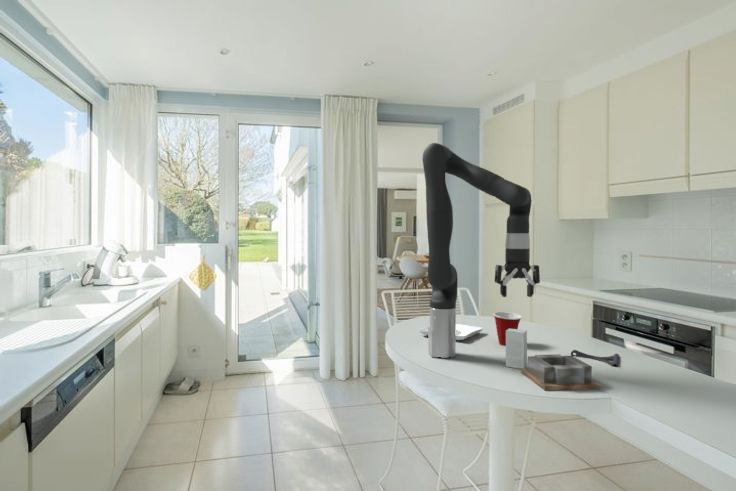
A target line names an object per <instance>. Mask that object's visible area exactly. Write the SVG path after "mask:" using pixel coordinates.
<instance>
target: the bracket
mask: <svg viewBox="0 0 736 491" xmlns="http://www.w3.org/2000/svg"><path fill="white" fill-rule="evenodd" d="M570 356H573V357H575V358H584V359H590V360H591V359H592V360H596V361H599V362H600V361H601V362H603V363H605V364H608V365H609V366H610V367H613V366H614V367H615V365H616V368H619V362H620V355H619V353H614V354H613V355H610V356H596V355H592V354H588V353H585V352H582V351H579V350H576V349H573V350H572V351H571V352H570Z"/></svg>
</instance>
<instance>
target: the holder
mask: <svg viewBox="0 0 736 491" xmlns="http://www.w3.org/2000/svg"><path fill="white" fill-rule="evenodd" d="M592 370H593V369H592V365H590V364H588V363H586V362H585V361H582V360H581V359H579V358H578V357H575V356H571V355H562V354H558V353H557V354H534V356H533V355H531V356H529V355H527V366H526V368H521V369H520V373H521V374H522V375H523V376H525V377H527V378H528V379H529V380H530V381H531V382H533V383H534V384H535V385H537V386H538V387H540V388H541V389H542V390H543V391H572V390H573V391H574V390H575V391H577V390H601V384H600V383H598V382H596V381H594V380H592V378H593V376H592V375H593V374H592Z"/></svg>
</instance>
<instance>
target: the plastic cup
mask: <svg viewBox="0 0 736 491" xmlns="http://www.w3.org/2000/svg"><path fill="white" fill-rule="evenodd" d="M492 314H493V317H494V320H495V321H494V323H495V327H496V333H497V334H496V335H497V340H498V343H499V345H500V346H505V347H506V330H508V329H519V325H520V322H521V319H522V318H523V317H522V315H520V314H518V313H514V312H508V311H495V312H493V313H492Z"/></svg>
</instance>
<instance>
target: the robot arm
mask: <svg viewBox="0 0 736 491" xmlns="http://www.w3.org/2000/svg"><path fill="white" fill-rule="evenodd" d="M422 165H423V171H424V172H423V173H424V179H425V182H424V183H425V204H426V206H425V207H426V226H427V227H426V229H427V242H428V244H427V246H428V263H427V280H428V281H427V282H429V285H430V286H431V287H432V288H431V289H432V290H431V296H430V298H429V326H430V327H428V337H427V338H428V339H427V340H428V342H427V344H428V346H427V347H428V349H427V351H428V352H429V353H428V354H429V356H430V355H431V356H430V357H431V358H438V357H441V358H440V359H450V358H449V357H451V358H454V357H456V350H457V349H456V347H457V346H456V343H457V341H456V324H457V323H456V322H457V321H456V314H457V311H456V310H457V307H456V306H457V300H458V271H457V268H456V267H455V266H454V265H453V264H451V259H450V258H451V256H450V255H451V254H450V245H451V241H452V234H453V228H454V211H453V203H452V200H451V197H450V193H449V191H448V188H447V182H446V174H449V175H452V176H455V177H457V178H459V179H461V180H463V181H464V182H466V183H467V184H469V185H470V186H472V187H474V188H475V189H477V190H479V191H481V192H483V193H485V194H487V195H489V196H492V197H494V198H496V199H498V200H499V201H501V202H503V203H504V204H506V205H508V206H509V211H508V212H509V215H508V216H507V219H506V234H505V244H504V245H505V246H504V247H505V258H504V259H505V260H504V261H505V264H504V265H500V264H496V265H495V268H494V269H495V272H494V283H495V284H498V285H499V286H500V290H499V291H500V292H499V293H500V295H501V297H503V298H507V287H508V286H507V285H508V282H510V281H511V280H512V279H523V280H525V282H526V283H527V285H526V296H527V297H529V298H532V297H533V295H534V286H535V285H538V284H540V282H541V281H540V279H541V277H540V276H541V275H540V266H539V265H537V264H533V265H530V258H531V257H530V256H531V253H530V252H531V249H530V248H531V239H530V215H531V214H530V213H531V206H532V194H531V192H530V190H529V189H528V188H527V187H524V186H522V185H519V184H517V183H515V182H512V181H510V180H507V179H505V178H504V177H502V176H501V175H499V174H496V173H494V172H492V171H490V170H488V169H486V168H483V167H481V166H478V165H476V164H473V163H471V162H469V161H467V160H465V159H464V158H462V157H461V156H459V155H458V154H456V153H454V151H452V150H451V149H450V148H449V147H448V146H445V145H443V144H440V143H437V142H433V143H430V144H428V145H426V147H425V148H424V150H423V153H422ZM504 271H505V274H504V275H503V277H502V273H503V272H504ZM530 271H531V273H532V277H531V275H530V274H529V272H530Z"/></svg>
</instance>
